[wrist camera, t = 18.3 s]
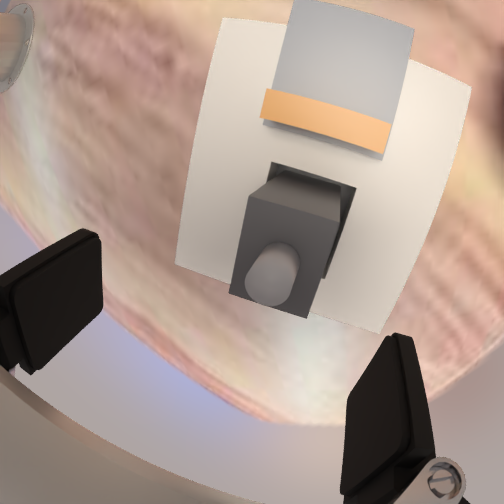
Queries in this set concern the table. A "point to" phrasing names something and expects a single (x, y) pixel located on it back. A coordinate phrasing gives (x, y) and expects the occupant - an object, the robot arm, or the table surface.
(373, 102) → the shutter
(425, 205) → the socket board
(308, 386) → the table surface
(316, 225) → the plug
